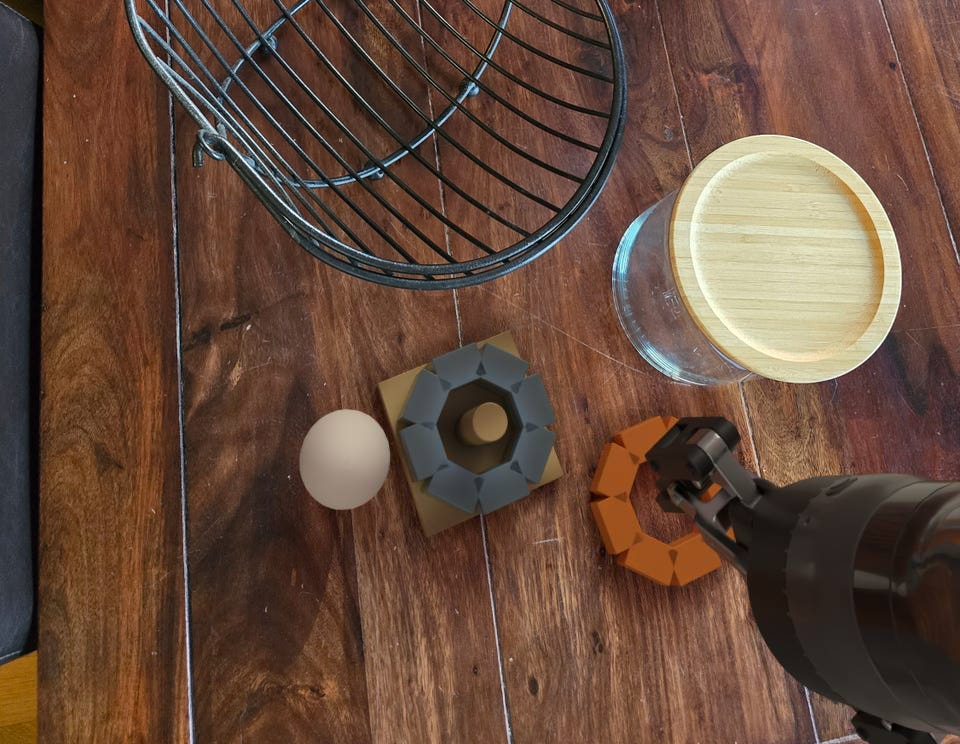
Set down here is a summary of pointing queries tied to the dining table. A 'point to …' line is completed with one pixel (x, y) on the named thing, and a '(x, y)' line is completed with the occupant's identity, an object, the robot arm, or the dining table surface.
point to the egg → (344, 459)
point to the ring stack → (471, 431)
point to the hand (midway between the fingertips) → (733, 567)
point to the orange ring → (621, 523)
